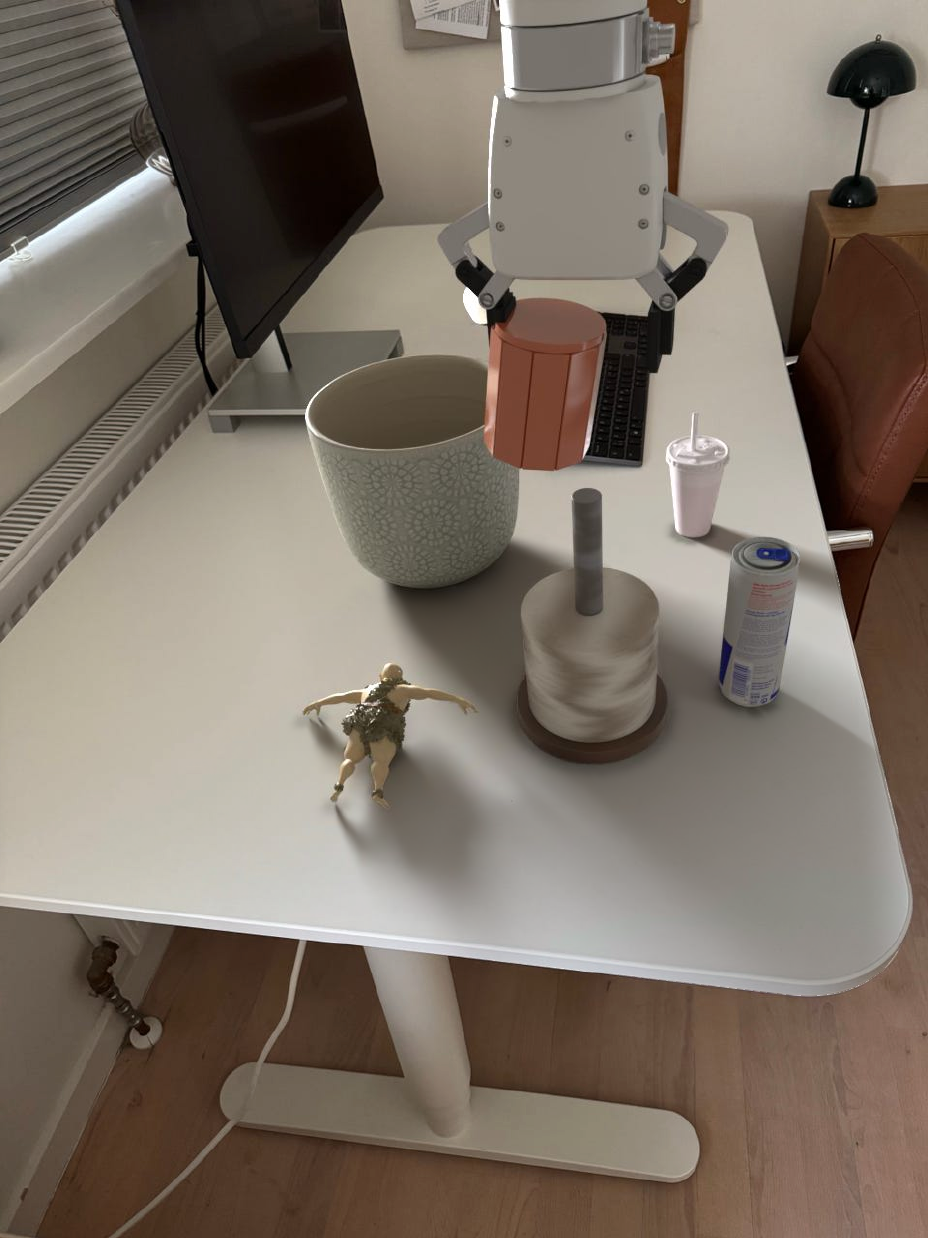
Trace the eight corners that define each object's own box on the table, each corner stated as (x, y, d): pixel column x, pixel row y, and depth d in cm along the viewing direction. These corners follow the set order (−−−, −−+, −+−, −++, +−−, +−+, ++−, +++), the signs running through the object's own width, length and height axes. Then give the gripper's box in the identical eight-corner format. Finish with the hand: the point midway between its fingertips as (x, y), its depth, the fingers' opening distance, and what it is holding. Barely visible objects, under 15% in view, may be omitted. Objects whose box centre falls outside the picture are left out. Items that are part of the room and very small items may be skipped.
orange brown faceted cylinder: (483, 414, 66) (491, 294, 60) (585, 419, 66) (603, 300, 60) (483, 467, 60) (491, 341, 54) (593, 473, 60) (614, 348, 54)
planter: (561, 526, 101) (554, 367, 89) (468, 637, 88) (445, 469, 76) (409, 490, 110) (384, 342, 98) (304, 586, 97) (260, 429, 85)
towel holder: (674, 666, 81) (687, 454, 67) (657, 775, 72) (667, 555, 58) (536, 651, 85) (520, 446, 71) (502, 752, 76) (476, 540, 62)
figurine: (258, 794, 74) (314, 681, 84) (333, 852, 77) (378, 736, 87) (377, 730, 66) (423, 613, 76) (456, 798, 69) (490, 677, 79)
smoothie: (652, 520, 100) (656, 405, 91) (704, 506, 101) (713, 391, 92) (680, 550, 95) (687, 432, 86) (734, 535, 96) (746, 417, 87)
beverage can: (778, 675, 79) (801, 536, 70) (777, 716, 76) (801, 575, 66) (719, 668, 81) (733, 531, 71) (715, 708, 77) (729, 569, 67)
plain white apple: (505, 327, 146) (501, 278, 141) (463, 329, 148) (457, 280, 143) (510, 310, 152) (506, 263, 147) (469, 312, 153) (464, 265, 148)
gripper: (747, 32, 48) (721, 341, 58) (440, 55, 52) (469, 336, 63) (739, 58, 42) (712, 393, 53) (398, 81, 47) (437, 383, 58)
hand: (580, 362), depth 58 cm, fingers open, 9 cm apart
